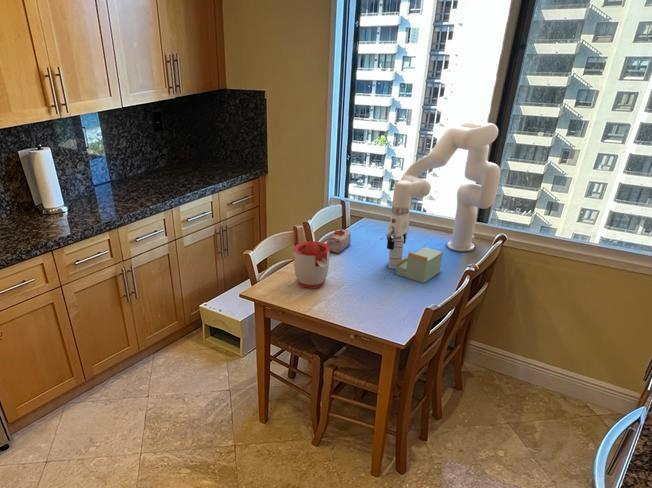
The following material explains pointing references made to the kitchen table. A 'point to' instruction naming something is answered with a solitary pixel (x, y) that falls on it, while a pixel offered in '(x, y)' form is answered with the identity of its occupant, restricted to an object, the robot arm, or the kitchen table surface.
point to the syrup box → (396, 252)
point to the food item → (339, 241)
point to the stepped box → (420, 265)
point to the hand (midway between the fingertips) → (396, 246)
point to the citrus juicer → (311, 263)
